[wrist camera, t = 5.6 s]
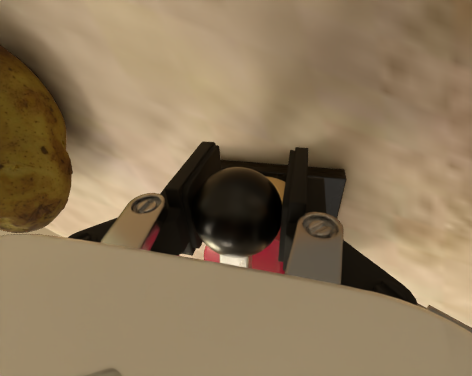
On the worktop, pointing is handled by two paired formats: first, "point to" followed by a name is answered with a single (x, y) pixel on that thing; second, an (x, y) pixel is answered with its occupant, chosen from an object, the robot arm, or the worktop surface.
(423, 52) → the worktop surface
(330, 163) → the worktop surface
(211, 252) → the cake
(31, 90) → the potato
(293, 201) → the robot arm
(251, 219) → the black ball knob
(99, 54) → the worktop surface
